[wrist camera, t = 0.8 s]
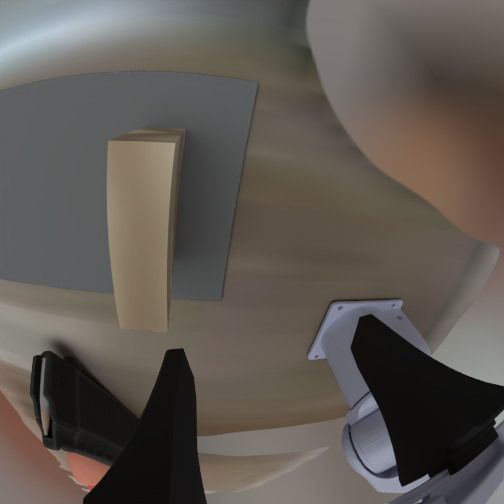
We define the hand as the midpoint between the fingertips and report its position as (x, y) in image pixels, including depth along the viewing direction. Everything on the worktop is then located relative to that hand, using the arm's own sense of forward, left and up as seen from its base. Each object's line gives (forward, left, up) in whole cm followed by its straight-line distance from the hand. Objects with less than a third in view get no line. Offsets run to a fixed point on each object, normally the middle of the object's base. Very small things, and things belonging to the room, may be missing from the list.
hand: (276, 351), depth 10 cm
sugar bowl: (+24, +54, -11) cm, 60 cm away
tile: (+6, -2, -10) cm, 12 cm away
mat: (+12, -2, -10) cm, 16 cm away
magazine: (+13, +27, -11) cm, 31 cm away
